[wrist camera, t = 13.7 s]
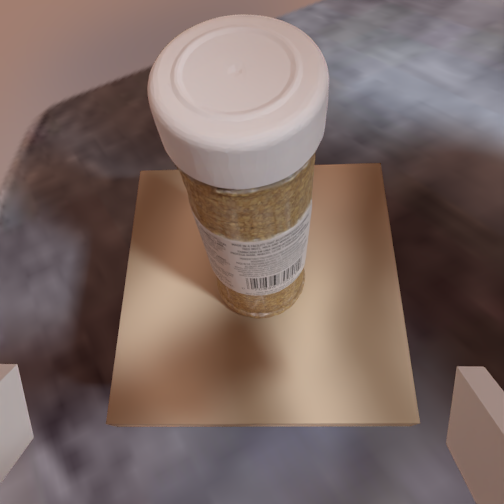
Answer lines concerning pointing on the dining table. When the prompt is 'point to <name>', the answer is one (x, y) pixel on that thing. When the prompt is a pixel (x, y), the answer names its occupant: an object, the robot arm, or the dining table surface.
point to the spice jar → (245, 148)
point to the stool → (264, 321)
